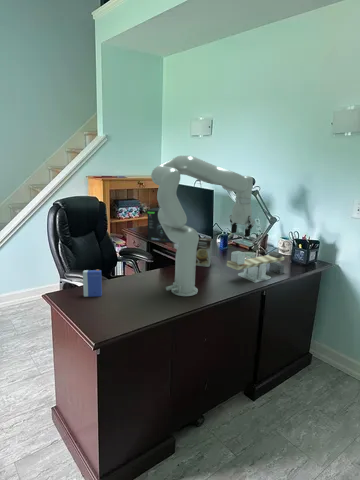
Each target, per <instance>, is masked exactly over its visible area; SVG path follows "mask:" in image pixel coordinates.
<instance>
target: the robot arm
mask: <svg viewBox="0 0 360 480" xmlns="http://www.w3.org/2000/svg"><path fill="white" fill-rule="evenodd" d="M181 175H184V176H188V177H190V178H193V179H196V180H199V181H202V182H203V183H206V184H210V185H215V186H221V187H222V189H224V190H226V191H229V192H236V193H235V198H234V199H235V202H234V203H233V207H232V212H231V215H229V217H228V218H229V222H230V225H231V230H230V232H231V234H235V233H236V234H237V229H238V225H244V226H245V229H244V237H245V238H247V237H248V238H249V237H251V236H250V235H251V229H252V228H254V225H255V223H256V220H255V219H254V218H252V214H253V213H252V212H253V211H252V209H253V208H252V204H251V203H252V194H253V193H252V192H253V180H254V179H253V177H252V176H250V175H242V174H240V173H238V172H235V171H231V170H230V169H229V170H228V169H226V168H223V167H221V166H217V165H214V164H212V163H209V162H208V161H205V160H203V159H201V158H197V157H196V156H193V155H178V156H175V157H173V158H171V159H170V160H169V159H168V160H167V161H165V162H162V163H161V164H159V165H157V166H155V168H153V170H152V172H151V175H150V178H151V181H152V182H153V183H154V184H155V185H156V186H158V189H157V193H156V194H157V195H156V199H157V203H158V205H159V208H160V207H161V208H160V209H159V211H158V219H159V222H160V224H161V226H162V228H163V229H164V231H165V233H166V235H167V236H168V238H169V239H170V240H171V241H172V242H174V243H173V244H177V248H176V251H175V262H174V264H175V265H174V266H175V267H174V269H175V270H174V282H172V284H171V285H168V286H165V290H166V291H170V290H171V293H172V294H173V295H176V296H179V297H192V296H195V295H197V294H198V291H199V290H198V288H197V287H196V286H195V285H196V250H197V245H198V241H199V238H200V237H199V233H198V231H197V230H196V229H194V228H193V227H191V226H188V225H186V224H187V222H188V221H187V220H188V217H187V215H186V212H185V210H184V209H183V206H182V204H181V202H180V200H179V198H178V196H177V190H178V187H179V184H180V181H181ZM237 224H238V225H237Z"/></svg>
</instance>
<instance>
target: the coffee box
mask: <svg viewBox="0 0 360 480" xmlns="http://www.w3.org/2000/svg"><path fill="white" fill-rule="evenodd" d="M212 245H213V238H208V237H207V238H206V237H199V241H198V245H197V250H196V266H198V267H206V268H209V267H210V266H211V260H212V259H211V258H212Z"/></svg>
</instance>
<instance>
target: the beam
mask: <svg viewBox="0 0 360 480" xmlns="http://www.w3.org/2000/svg"><path fill="white" fill-rule="evenodd" d="M282 261H285V257H284V256H283V253H282V252H281V253H280V252H277V251H270V252H269V253H268V254H267V255H263V256H256V257H251V258H250V259H246V258H245V264H244V265H238V264H236V263H233V262H231V260H226V267H229V268H231V269H233V270H236V271H240V270H244V269H245V268H250V267H255V266H260V264H262V263H265V264H267V265H268V264H270V263H273V262H277V263H279V262H282Z"/></svg>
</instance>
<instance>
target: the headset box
mask: <svg viewBox="0 0 360 480" xmlns="http://www.w3.org/2000/svg"><path fill="white" fill-rule="evenodd" d="M160 208H161V207H160V206H159V207H158V208H157V207H151V208H149V209H147V242H160V243H167V244H169V243H172V244H175V243H174V242H172V241H171V240H170V239H169V238H168V236H167V235H166V233H165V231H164V229H163V228H162V226H161V224H160V222H159V219H158V211H159V209H160Z"/></svg>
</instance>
